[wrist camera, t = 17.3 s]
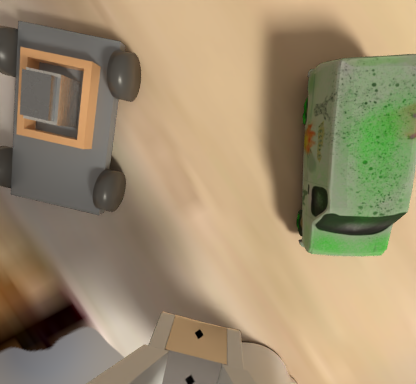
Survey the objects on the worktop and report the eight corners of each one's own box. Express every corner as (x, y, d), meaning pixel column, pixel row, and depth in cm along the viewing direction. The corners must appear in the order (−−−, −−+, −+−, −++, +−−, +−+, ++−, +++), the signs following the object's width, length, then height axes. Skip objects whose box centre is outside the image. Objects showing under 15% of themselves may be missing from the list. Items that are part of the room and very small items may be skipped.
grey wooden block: (76, 127, 34) (51, 124, 29) (46, 121, 34) (16, 117, 29) (80, 82, 33) (55, 71, 28) (50, 76, 33) (18, 64, 28)
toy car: (294, 241, 38) (316, 273, 29) (301, 73, 34) (331, 44, 24) (364, 241, 37) (413, 275, 28) (382, 69, 33) (447, 37, 23)
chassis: (121, 211, 40) (103, 223, 34) (17, 187, 40) (-18, 194, 34) (144, 54, 35) (127, 36, 29) (25, 30, 35) (-15, 7, 29)
